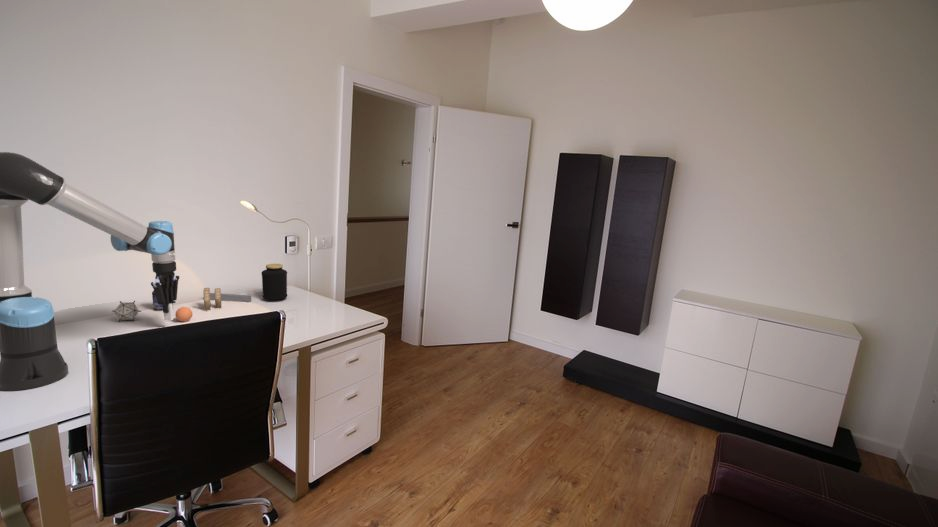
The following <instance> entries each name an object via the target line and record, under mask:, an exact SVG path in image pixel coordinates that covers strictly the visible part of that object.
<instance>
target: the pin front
mask: <svg viewBox="0 0 938 527" xmlns="http://www.w3.org/2000/svg"><path fill="white" fill-rule="evenodd" d="M210 293H211V290H210V291H209V290H205V291H204V290H203V307H204V309H203V310H210V311H211V307H210V303H211V300H210Z"/></svg>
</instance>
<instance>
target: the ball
mask: <svg viewBox="0 0 938 527" xmlns="http://www.w3.org/2000/svg"><path fill="white" fill-rule="evenodd" d="M193 314H194V313H193V310H192V309H191V308H190V307H187V306H183V307H179V308H177V309H176V311H175V318H176V319H177V320H178V321H180V322H188V321H189V320H191V319H192V317H193Z"/></svg>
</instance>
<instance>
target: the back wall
mask: <svg viewBox="0 0 938 527" xmlns="http://www.w3.org/2000/svg"><path fill="white" fill-rule="evenodd" d="M210 301H215V292H210ZM222 301H225V302H239V303H240V302H241V303H244V302H245V303H250V302H252V295H251V294H237V293H236V294H235V293H222V292H221V302H222Z"/></svg>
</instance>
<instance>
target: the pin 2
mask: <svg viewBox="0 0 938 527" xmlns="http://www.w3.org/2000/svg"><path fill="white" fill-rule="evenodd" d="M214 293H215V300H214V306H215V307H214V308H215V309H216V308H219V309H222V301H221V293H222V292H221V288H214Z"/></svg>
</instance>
